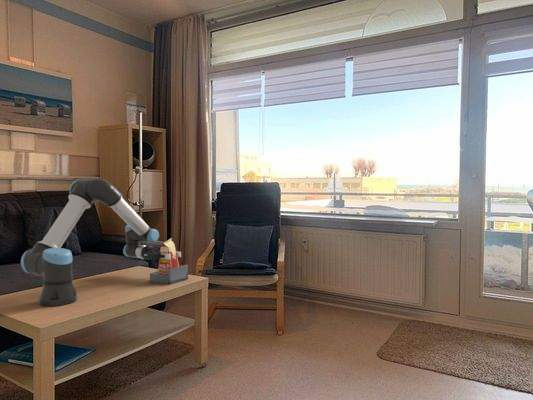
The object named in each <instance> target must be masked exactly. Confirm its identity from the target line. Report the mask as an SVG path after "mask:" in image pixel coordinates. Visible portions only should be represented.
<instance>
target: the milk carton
mask: <svg viewBox="0 0 533 400" xmlns="http://www.w3.org/2000/svg"><path fill="white" fill-rule="evenodd" d="M159 250H160V254H161V253H165V254H170V255H171V259H162V258H160V260H158V270H157V271H158V274H166V275H168V269H171V268H175V267H179V266H180V264H179V260H178V259H179V257H177V253H176V252H177V249H176V245H175V242H174V241H172V237H171V238H169V239H168V240H166V241H164V242H163V244H162V245H161V246H160V249H159Z"/></svg>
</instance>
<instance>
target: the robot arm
mask: <svg viewBox="0 0 533 400" xmlns="http://www.w3.org/2000/svg"><path fill="white" fill-rule="evenodd" d="M68 191H69V194H68V202H67V203H66V204H65V207H64V208H63V209H62V211H61V212H60V213H59V215H58V217H57V218H56V219H55V221H54V222H53V224H52V225H51V227H50V229H49V230H48V231H47V233H46V234H45V236H44V237H43V238H42V240H40V241H37V242H36V243H35V244H34V245H33V247H32V248H30V249H28V250H26V251H24V253H23V254H22V256H21V259H20V265H21V269H22V270H23V271H24V272H25V273H27V274H28V275H29V274H30V275H31V276H39V277H43V279H42V280H43V283H42V285H43V286H42V289H41V292H40V296H39V298H38V305H40V306H43V307H58V306H65V305H68V304H72V303H75V302H77V300H78V293H77V292H76V288H75V286H74V283H73V280H74V279H73V260H74V259H73V254H72V251H71V250H70V249H67V248H62V246H63V244H65V242H66V241H67V240H66V239H68V237H69V235H70V234H71V232H72V230H73V229H74V228H75V226H76V224H77V223H78V221H79V220H80V218H81V216H82V215H83V213H84V211H85V210H87V209H90V208H91V207H92V206H93V204H94V203H95V202H100V203H102V204H104V205H105V206H106V207H108V208H111V209H112V210H113V212H115V213H116V214H117V215H118V216H119V217H120V219H122V220H123V222H125V223H126V226H125V227H124V228H125V229H124V233H125V240H126V241H125V242H126V243H125V245H124V247H123V249H122V253H123V255H124V256H125V257H128V258H132V259H133V258H136V259H141V260H152V259H156V260H158V261H159V260H160V258H162V259H171V255H170V254H165V253H161V254H160V250H161V249H155V248H154V247H153V245H142V244H141V242H143V243H156V242H158V240H159V238H160V233H159V231H158V230H157V229H156V228H151V227H150V225H148V224H147V223H146V222H145V220H144V219H143V218H142V217H141V216H140V215H139V214H138V213H137V212H136V211H135V209H133V207H132V206H131V205H130V204H129V203H128V202H127V201H126V200H125V199H124V198H123V194H122V193H121V191H120V190H119V189H118V188H117V187H116V186H115V185H113V184H112V183H111V182H109V181H108V180H106V179H103V178H100V177H96V178H95V177H94V178H91V177H90V178H85V177H83V178H79V179H75V180H74V181H72V183H71V184H70V186H69V190H68ZM176 253H177V258H182V251H176Z"/></svg>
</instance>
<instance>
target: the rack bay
mask: <svg viewBox="0 0 533 400" xmlns="http://www.w3.org/2000/svg"><path fill="white" fill-rule="evenodd" d="M187 280H189V265H188V264H184V265H179V267H175V268H171V269H168V275H166V274H158V270H157V271H153V272H149V281H150V282H153V283H159V284H164V285H165V284H166V285H172V284H177V283H180V282H183V281H184V282H185V281H187Z"/></svg>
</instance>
